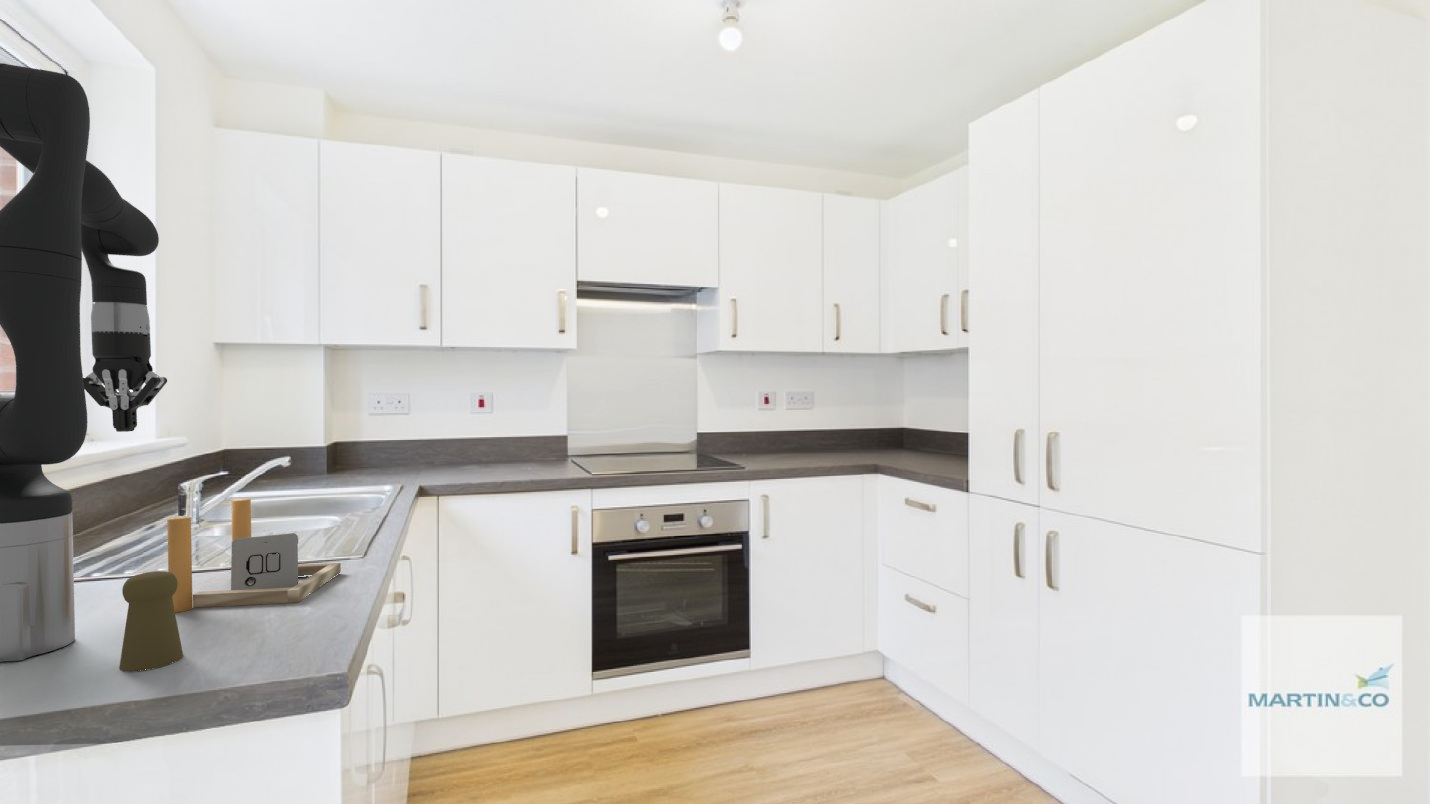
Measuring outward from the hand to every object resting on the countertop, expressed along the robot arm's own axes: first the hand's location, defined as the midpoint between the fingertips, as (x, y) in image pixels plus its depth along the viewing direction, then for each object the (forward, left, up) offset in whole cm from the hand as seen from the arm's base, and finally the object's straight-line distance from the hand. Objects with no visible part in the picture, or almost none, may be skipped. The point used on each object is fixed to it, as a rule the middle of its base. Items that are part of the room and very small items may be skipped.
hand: (125, 431), depth 114 cm
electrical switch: (-7, -25, -27) cm, 37 cm away
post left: (-16, -18, -27) cm, 36 cm away
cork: (-37, -27, -27) cm, 53 cm away
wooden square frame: (-7, -26, -27) cm, 38 cm away
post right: (+1, -18, -27) cm, 32 cm away
